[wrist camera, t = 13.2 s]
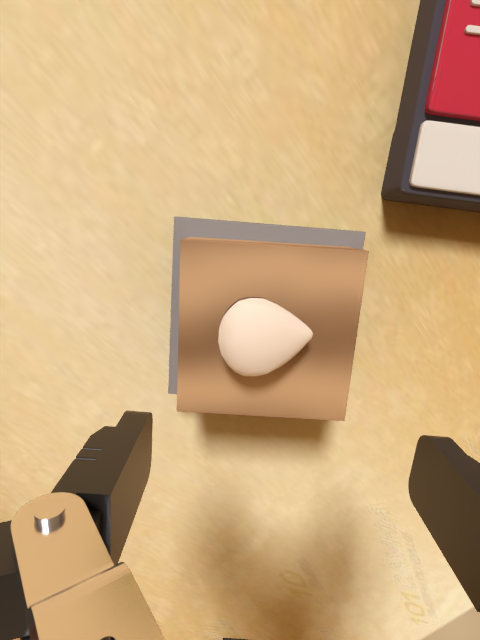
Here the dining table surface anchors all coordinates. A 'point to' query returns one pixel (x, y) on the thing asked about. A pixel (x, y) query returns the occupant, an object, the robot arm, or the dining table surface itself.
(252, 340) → the pistachio nut
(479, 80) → the calculator
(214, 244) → the tower top block
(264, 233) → the tower base block
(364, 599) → the dining table surface
